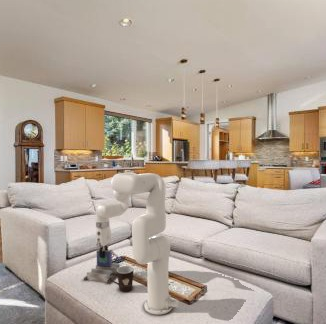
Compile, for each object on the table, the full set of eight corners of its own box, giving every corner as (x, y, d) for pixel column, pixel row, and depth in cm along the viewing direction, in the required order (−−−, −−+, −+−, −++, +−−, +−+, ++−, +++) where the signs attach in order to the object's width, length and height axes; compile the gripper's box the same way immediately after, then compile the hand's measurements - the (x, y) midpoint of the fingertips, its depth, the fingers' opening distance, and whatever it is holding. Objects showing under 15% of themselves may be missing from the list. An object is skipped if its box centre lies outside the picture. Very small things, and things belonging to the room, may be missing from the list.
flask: (112, 265, 146) (112, 247, 146) (110, 267, 143) (110, 248, 143) (98, 264, 148) (97, 246, 148) (95, 266, 145) (94, 247, 145)
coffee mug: (136, 285, 133) (136, 266, 133) (130, 294, 125) (130, 274, 125) (115, 283, 136) (115, 264, 136) (108, 291, 128) (108, 271, 128)
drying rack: (122, 270, 152) (122, 263, 152) (108, 283, 136) (108, 276, 136) (99, 267, 157) (99, 260, 157) (84, 280, 141) (83, 272, 141)
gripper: (101, 228, 137) (102, 262, 137) (115, 221, 152) (116, 251, 152) (89, 227, 139) (90, 261, 139) (103, 220, 155) (105, 251, 155)
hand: (103, 256), depth 146 cm, fingers closed on flask, 3 cm apart
